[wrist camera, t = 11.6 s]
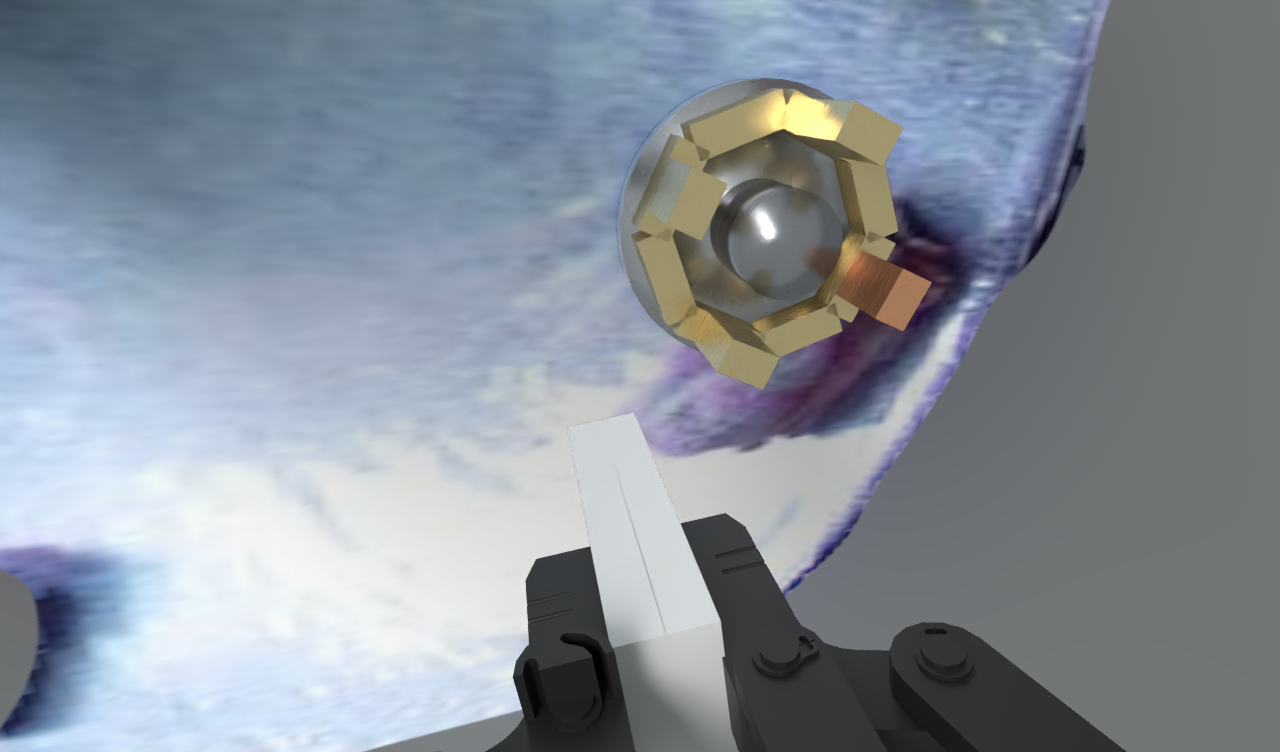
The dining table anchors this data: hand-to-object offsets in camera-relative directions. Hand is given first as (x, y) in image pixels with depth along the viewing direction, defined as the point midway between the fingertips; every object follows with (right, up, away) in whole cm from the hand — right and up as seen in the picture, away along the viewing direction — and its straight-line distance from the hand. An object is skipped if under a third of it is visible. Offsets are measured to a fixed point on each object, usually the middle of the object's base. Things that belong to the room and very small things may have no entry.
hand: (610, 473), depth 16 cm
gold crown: (+8, +11, +27) cm, 30 cm away
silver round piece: (+8, +12, +29) cm, 32 cm away
